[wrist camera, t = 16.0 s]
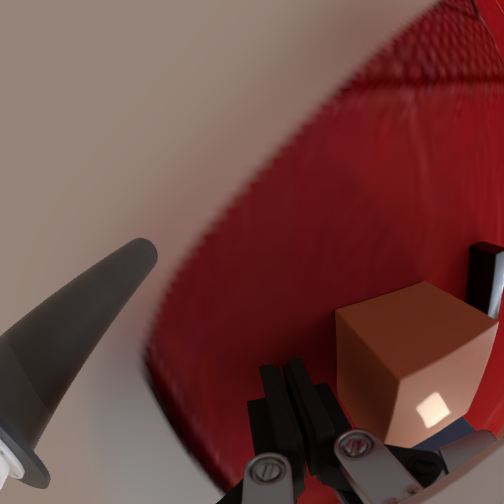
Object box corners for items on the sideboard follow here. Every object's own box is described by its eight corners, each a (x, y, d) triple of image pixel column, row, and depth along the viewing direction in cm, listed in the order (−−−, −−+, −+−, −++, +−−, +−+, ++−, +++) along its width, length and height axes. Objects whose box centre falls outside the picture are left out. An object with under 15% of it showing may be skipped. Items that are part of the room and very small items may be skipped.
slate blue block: (370, 457, 15) (396, 503, 10) (384, 420, 13) (420, 472, 9) (422, 434, 15) (451, 471, 10) (440, 393, 14) (478, 433, 9)
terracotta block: (336, 392, 12) (377, 464, 7) (334, 308, 11) (398, 380, 6) (415, 361, 12) (467, 412, 8) (424, 280, 11) (499, 321, 6)
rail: (403, 479, 18) (410, 491, 16) (469, 245, 11) (495, 254, 9) (414, 473, 18) (421, 484, 16) (483, 240, 11) (508, 248, 9)
